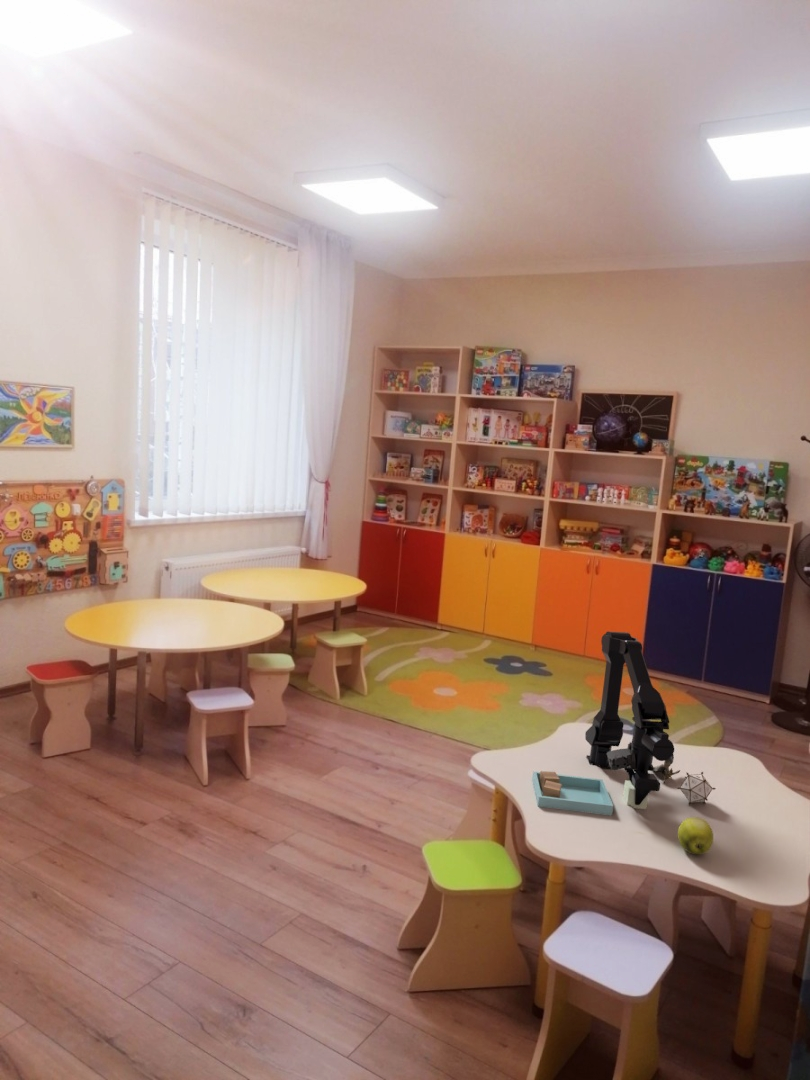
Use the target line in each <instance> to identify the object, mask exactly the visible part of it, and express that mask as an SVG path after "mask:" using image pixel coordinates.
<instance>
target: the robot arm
mask: <svg viewBox="0 0 810 1080" xmlns="http://www.w3.org/2000/svg"><path fill="white" fill-rule="evenodd" d="M601 653H602V654H603V656H604V658H605V660H606V661H605V663H606V664H605V670H604V671H605V672H604V680H603V689H602V697H601V704H600V710H599V711H597V714H595V716H594V717H593V719H592V725H591V726H590V727H589V728H588V729H587V730H586V731H585V737H584V738H585V740H586V742H587V743H588V744H589V745H590V752H589V755H588V754H587V755H586V757H585V758H586V760H587V761H588V764H589V765H590V766H596V767H600V768H603V769H611V770H613V771H616V770H617V771H618V770H621V769H624V770H625V772H626V773H627V776H628V781H631V783H632V785H633V786H634V789H635V805H640V804H641V802H642V801H643V800H644V798H645V797H646V796H647V795H648V796H649V794H650V792H652V791H653V792H659V791H660V790H661V789H660V788H661V781H659V778H658V777H657V776H656V775H655V773H649V772H654V771H653V770H654V767H655V766H653V759H654V758H655V759H656V760H657V761H660V762H665V760H668V759H669V758H670V757H671V756H672V755H674V753H675V746H674V743H673V742H672V741H671V739H669V737H670V735H669V734H668V733H667V732H665V731H664V730H670V725H669V724H670V719H669V716H668V712H667V706H666V703H665V702H664V700H663V698H662V697H663V696H661V693H660V692H659V691H658V690H657V689H656V688H655V687H654V685H653V684H652V681H651V678H650V677H651V676H650V674H649V671H648V667H647V664H646V662H645V657H644V655H643V644H642V642H641V641H639V639H638V638H636V637H634V636H632V635H631V633H630V632H625V631H624V632H622V631H606V632H605V633H604V634H603V635H602V636H601ZM625 665H626V668H627V673H628V675H629V680H630V683H631V686H632V691H633V695H632V698H631V709H632V714H633V717H632V718H631V720H632V721H633V722H634V726H633V734H632V740H631V741H629V743H628V744H627V748H620V749H619V748H618V747H619V746H620V744H621V741H622V738H623V737H624V732H623V730H624V722H623V721H622V720H621V718H620V716H619V709H620V707H619V706H620V699H621V691H622V682H623V675H624V668H625V667H624V666H625ZM653 720H654V721H653ZM659 720H660V721H659ZM612 747H617V748H618V749H615V750H612ZM648 793H649V794H648Z"/></svg>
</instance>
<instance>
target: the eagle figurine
mask: <svg viewBox="0 0 810 1080" xmlns="http://www.w3.org/2000/svg"><path fill="white" fill-rule="evenodd" d="M674 759H675V758H674V754H673V755H672V756H671V757H670V758H669V759H668V760H665V761H663V763H661V764H660V765H657V766H653V767H654V770H653V771H652V772H659V771H660V773H661V775H662V777H663V778H664V780H663V783H664V784H665V783H666V782H667V781H668V780H669V779H673V777H672V776H674V775H677V774H679V773H680V772H681V770H680V769H679V770H677V771H675V772H674V770H673V767H671V765H672V764H673V763H674Z"/></svg>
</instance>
